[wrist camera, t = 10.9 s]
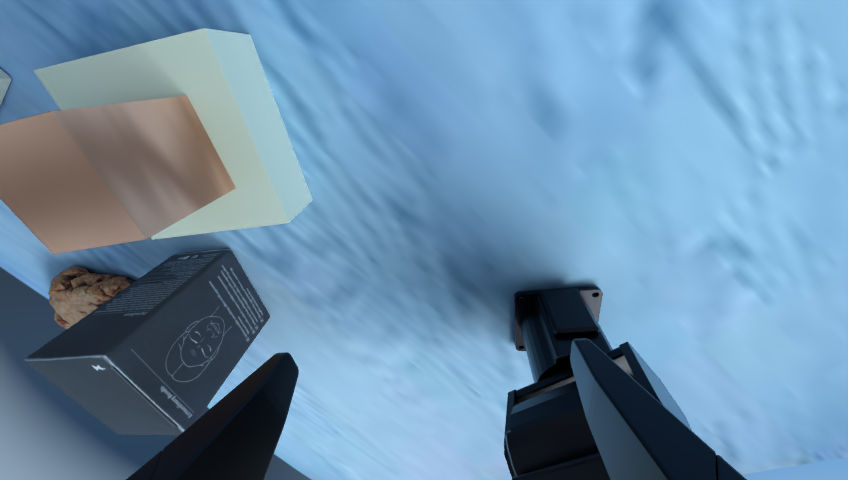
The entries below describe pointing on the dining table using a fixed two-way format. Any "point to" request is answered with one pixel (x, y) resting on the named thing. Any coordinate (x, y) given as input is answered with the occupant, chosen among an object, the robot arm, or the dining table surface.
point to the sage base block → (202, 118)
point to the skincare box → (4, 84)
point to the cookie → (82, 293)
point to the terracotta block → (108, 171)
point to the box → (158, 345)
